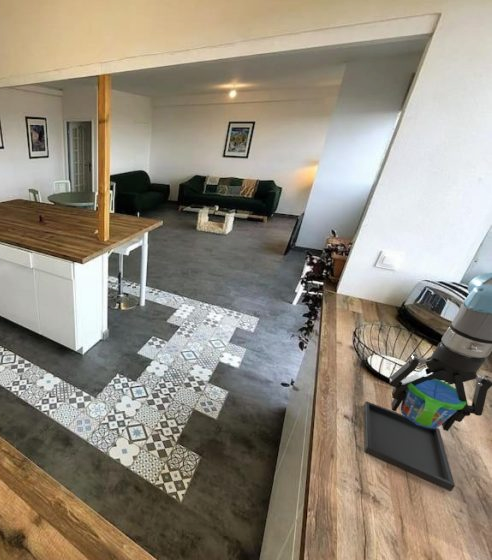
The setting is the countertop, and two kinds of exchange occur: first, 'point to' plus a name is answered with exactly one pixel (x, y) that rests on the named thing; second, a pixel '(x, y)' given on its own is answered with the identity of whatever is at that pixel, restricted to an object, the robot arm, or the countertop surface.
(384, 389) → the countertop surface
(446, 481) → the dark grey tray
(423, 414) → the snack cup
